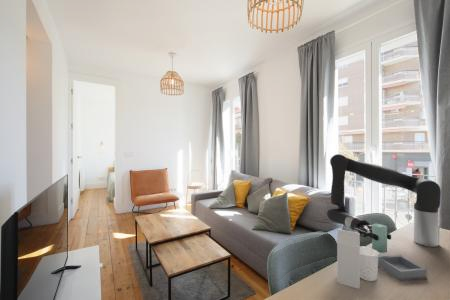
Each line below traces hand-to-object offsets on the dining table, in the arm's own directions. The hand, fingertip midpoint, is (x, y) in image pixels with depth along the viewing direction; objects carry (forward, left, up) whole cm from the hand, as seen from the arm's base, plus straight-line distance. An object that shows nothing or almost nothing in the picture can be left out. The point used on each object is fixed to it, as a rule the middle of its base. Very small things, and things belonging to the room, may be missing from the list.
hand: (384, 237), depth 96 cm
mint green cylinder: (0, -2, -7) cm, 7 cm away
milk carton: (+25, +11, -10) cm, 30 cm away
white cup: (+16, +9, -10) cm, 21 cm away
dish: (0, +8, -10) cm, 13 cm away
